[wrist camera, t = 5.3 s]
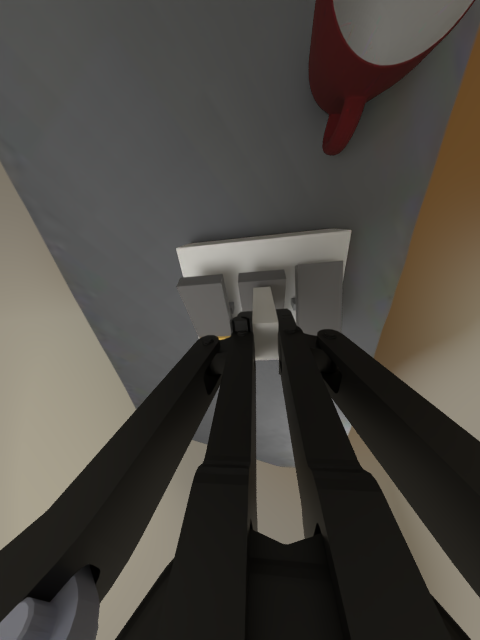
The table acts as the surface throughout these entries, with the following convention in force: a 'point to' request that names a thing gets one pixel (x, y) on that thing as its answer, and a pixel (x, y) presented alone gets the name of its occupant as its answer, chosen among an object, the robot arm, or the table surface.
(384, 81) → the mug
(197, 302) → the rocker
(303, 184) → the table surface
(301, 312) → the rocker
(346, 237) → the switch unit
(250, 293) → the rocker
